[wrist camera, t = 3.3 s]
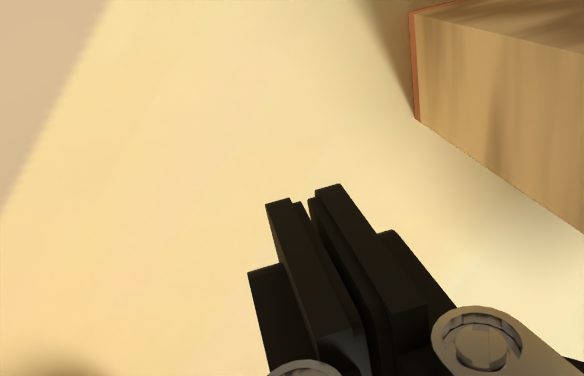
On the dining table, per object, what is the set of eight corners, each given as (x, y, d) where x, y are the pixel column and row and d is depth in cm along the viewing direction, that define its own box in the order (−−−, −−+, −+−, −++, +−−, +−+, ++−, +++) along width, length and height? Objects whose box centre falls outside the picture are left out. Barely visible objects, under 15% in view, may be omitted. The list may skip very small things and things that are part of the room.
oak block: (512, -13, 21) (848, 17, 10) (508, 93, 23) (779, 206, 13) (408, 12, 20) (650, 70, 10) (415, 118, 23) (616, 256, 12)
